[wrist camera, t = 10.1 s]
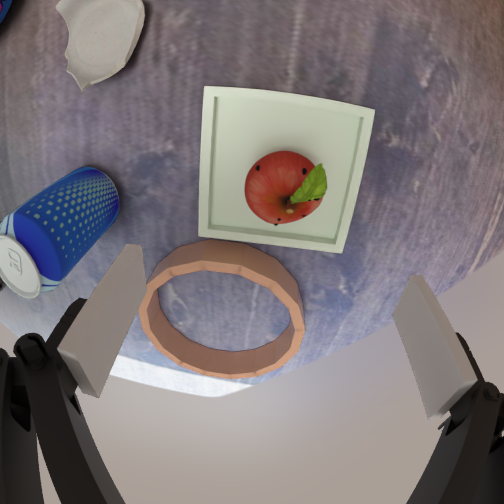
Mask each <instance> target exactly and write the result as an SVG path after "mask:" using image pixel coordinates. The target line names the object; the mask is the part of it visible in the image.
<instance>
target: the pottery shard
mask: <svg viewBox="0 0 504 504" xmlns="http://www.w3.org/2000/svg"><path fill="white" fill-rule="evenodd" d="M56 9H57V10H58V11H59V13H60V14H61V15H62V17H63V19H64V20H65V22H66V25H67V27H68V30H69V42H68V47H67V49H66V50H65V51H66V52H65V57H66V58H67V59H68V67H67V72H68V73H70V74H71V75H72V76H73V77H74V78H75V80H76V81H77V83H78V85H79V87H80V89H81V91H82V92H83V91H84V90H85V89H86V88H87V87H88V86H89V85H91V84H94V83H97V82H100V81H102V80H105V79H107V78H109V77H110V76H112V75H114V74H115V73H117V72H118V71H119V70H121V69H122V68H123V67H124V66H125V64H126V63H127V61H128V60H129V58H130V57H131V55H132V52H133V50H134V48H135V46H136V44H137V42H138V39H139V36H140V33H141V30H142V27H143V24H144V20H145V19H144V18H145V17H144V16H145V12H144V5H143V2H142V0H60V1H59V3H58V4H57V5H56Z"/></svg>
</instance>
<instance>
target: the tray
mask: <svg viewBox="0 0 504 504" xmlns="http://www.w3.org/2000/svg"><path fill="white" fill-rule="evenodd" d="M374 114H375V110H374V109H370V108H367V107H362V106H358V105H354V104H349V103H345V102H340V101H335V100H330V99H324V98H319V97H313V96H307V95H301V94H294V93H287V92H279V91H270V90H261V89H250V88H238V87H221V86H204V98H203V113H202V131H201V151H200V177H199V224H198V236H201V237H209V238H218V239H226V240H235V241H243V242H252V243H260V244H268V245H277V246H285V247H293V248H301V249H309V250H317V251H325V252H333V253H341V254H342V252H343V248H344V245H345V241H346V238H347V234H348V230H349V226H350V223H351V219H352V215H353V211H354V207H355V203H356V199H357V195H358V191H359V187H360V182H361V178H362V174H363V169H364V165H365V160H366V155H367V151H368V146H369V141H370V136H371V130H372V125H373V119H374ZM277 151H292V152H296V153H299V154H301V155H303V156H304V157H306V158H307V159H309V160H310V161H311V162H312V163H313V164H314V165H315V167H316V166H317V165H319V164H321V163H322V166H323V169H325V173H326V178H327V190H326V191H325V192H326V194H325V195H324V196H323V199H322V202H321V204H320V205H319V207H317V208H316V209H315V210H314V211H313V212H312V213H311V214H309V215H308V216H306V217H304V218H302V219H300V220H297V221H294V222H290V223H285V224H278V225H277V226H275V225H274V224H271V223H268V222H265V221H264V220H262V219H260V218H259V217H258V216H256V215H255V214H254V213H253V212H252V210H251V209H250V208H249V206H248V204H247V202H246V198H245V192H244V188H245V180H246V176H247V174H248V172H249V170H250V169H251V167H252V166H253V165H254V164H255V163H256V162H257V161H258V160H259V159H261V158H262V157H264V156H266V155H268V154H270V153H273V152H277Z"/></svg>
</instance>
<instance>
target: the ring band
mask: <svg viewBox="0 0 504 504" xmlns="http://www.w3.org/2000/svg"><path fill="white" fill-rule="evenodd" d="M201 270H208V271H216V272H224V273H232V274H239V275H241V276H243V277H245V278H247V279H249V280H251V281H254V282H256V283H258V284H260V285H262V286H264V287H267V288H269V289H270V290H271V291H272V292H273V293H274V294H275V295H276V296H277V297H278V298H279V299H280V300H281V302H282V303H283V304H284V305H285V306H286V307H287V308H288V309H289V311H290V315H291V320H290V324H289V326H288V327H287V328H286V329H285V330H284V331H283V333H282V334H281V335H280V336H279V337H278V338H277V339H276V340H275V341H272V342H270V343H268V344H266V345H264V346H262V347H260V348H257V349H253V350H246V351H238V352H230V351H222V350H215V349H210V348H207V347H205V346H202V345H200V344H197V343H195V342H193V341H190V340H188V339H187V338H186V337H185V336H183V335H182V334H181V333H180V332H178V331H177V330H176V329H175V328H173V327H172V326H171V325H170V323H169V322H168V320H167V318H166V317H165V315H164V314H163V312H162V310H161V309H160V305H159V297H158V289H157V288H159V287H160V286H161V285H163V284H164V283H165V282H167V281H168V280H169V279H171V278H172V277H173V276H177V275H182V274H187V273H191V272H196V271H201ZM146 284H147V293H146V295H145V297H144V299H143V301H142V303H141V305H140V307H139V309H138V310H139V315H140V319H141V324H142V329H143V331H144V332H145V333H146V335H147V336H148V338H149V339H150V340H151V342H152V343H153V344H154V346H155V347H156V349H157V350H159V351H160V352H161V353H163V354H164V355H165V356H167V357H168V358H169V359H171V360H172V361H174V362H175V363H176V364H178V365H180V366H182V367H185V368H187V369H190V370H192V371H195V372H197V373H200V374H202V375H206V376H213V377H220V378H227V379H238V378H248V377H257V376H260V375H263V374H265V373H268V372H270V371H273V370H275V369H278V368H280V367H282V366H283V365H284V364H285V363H286V362H287V361H288V360H289V359H290V358H292V357H293V356H294V355H295V354H296V353H297V352H298V350H299V347H300V344H301V341H302V338H303V335H304V332H305V320H304V308H303V303H302V299H301V295H300V292H299V288H298V284H297V281H296V280H295V279H294V278H293V277H292V276H291V274H290V273H289V272H288V271H287V270H286V269H285V268H284V267H283V266H282V264H281V263H280V262H279V261H278V260H277V259H276V258H274V257H272V256H270V255H268V254H266V253H264V252H262V251H260V250H258V249H255V248H253V247H251V246H249V245H247V244H246V243H237V242H229V241H220V240H212V239H208V240H204V241H200V242H196V243H192V244H188V245H184V246H181V247H178V248H176V249H175V250H174V251H173V252H172V253H170V254H169V255H168V256H167V257H165V258H164V259H163V260H162V261H161V262H159V263H158V264H157V266H156V267H155V269H154V271H153V273H152V274H151V276H150V278H149V280H148V282H147V283H146Z"/></svg>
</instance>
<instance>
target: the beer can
mask: <svg viewBox="0 0 504 504" xmlns="http://www.w3.org/2000/svg"><path fill="white" fill-rule="evenodd" d="M118 213H119V197H118V192H117V189H116V187H115V185H114V183H113V181H112V180H111V179H110V178H109V177H108V176H107V175H106V174H105V173H103V172H101V171H100V170H98V169H95V168H92V167H81V168H78V169H76V170H74V171H73V172H71V173H69V174H68V175H66V176H64V177H63V178H61V179H59V180H58V181H56V182H55V183H53V184H52V185H50V186H48V187H47V188H45V189H44V190H42V191H41V192H39V193H38V194H36V195H35V196H33V197H32V198H30V199H29V200H28V201H26V202H25V203H23V204H22V205H20V206H19V207H18V208H16V209H15V210H14V211H12V212H11V213H10V214H8V215H7V216H6V217H5V218H4V219H3V221H2V222H1V225H0V277H1V278H2V280H3V281H4V282H5V283H6V285H7V286H8V287H9V288H10V289H11V290H13V291H14V292H15V293H17V294H18V295H20V296H22V297H24V298H28V299H32V298H35V297H37V296H38V295H39V294H40V293H45V292H49V291H52V290H54V289H55V288H57V287H58V286H59V284H60V283H61V282H62V281H63V279H64V278H65V277H66V276H67V275H68V273H69V272H70V271H71V270H72V269H73V267H74V266H75V265H76V264H77V263H78V262H79V260H80V259H81V258H82V257H83V256H84V255H85V254H86V252H87V251H88V250H89V249H90V248H91V247H92V246H93V245H94V244H95V242H96V241H97V240H98V239H99V238H100V237H101V236H102V235H103V234H104V233H105V232H106V231H107V230H108V228H109V227H110V226H111V225H112V224H113V223H114V222H115V220H116V218H117V216H118Z"/></svg>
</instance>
